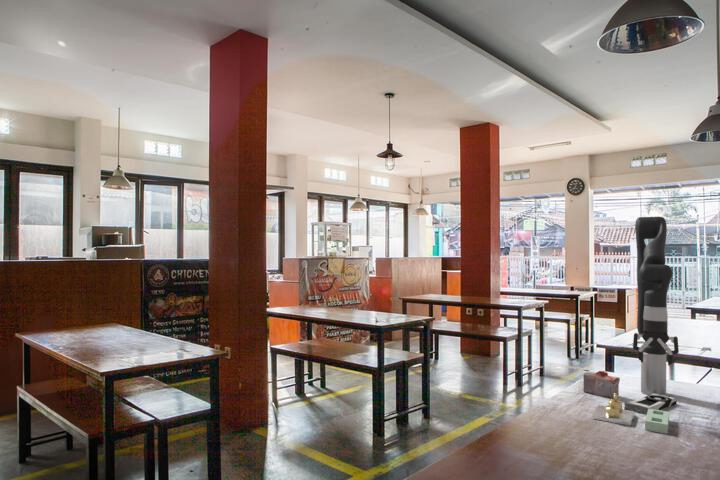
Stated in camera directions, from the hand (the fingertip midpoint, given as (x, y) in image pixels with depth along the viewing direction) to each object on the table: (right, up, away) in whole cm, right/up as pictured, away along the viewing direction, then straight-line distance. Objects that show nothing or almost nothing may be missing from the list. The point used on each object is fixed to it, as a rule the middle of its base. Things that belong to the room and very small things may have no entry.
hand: (655, 363), depth 180 cm
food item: (-7, -20, +27) cm, 34 cm away
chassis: (-16, -19, -2) cm, 25 cm away
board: (-5, -19, -9) cm, 22 cm away
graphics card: (+5, -20, +11) cm, 23 cm away
